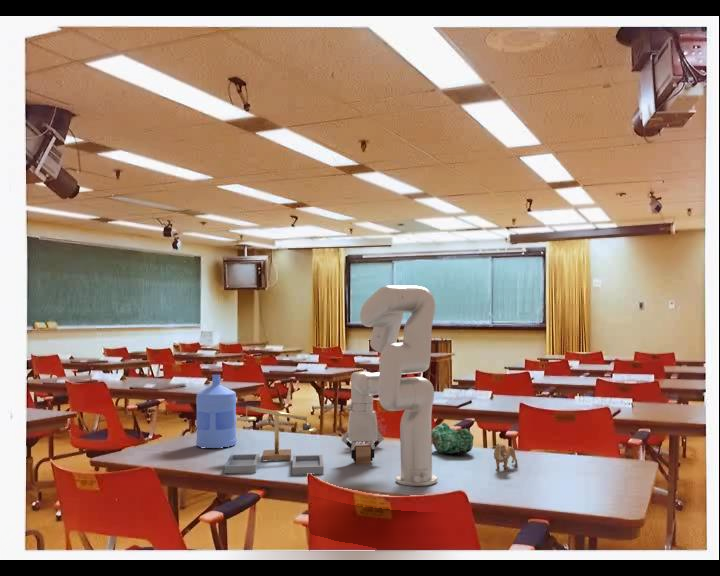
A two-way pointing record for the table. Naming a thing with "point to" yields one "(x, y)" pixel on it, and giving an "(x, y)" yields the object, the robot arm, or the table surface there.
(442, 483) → the table surface
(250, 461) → the dish high side
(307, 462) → the dish low side
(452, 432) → the mineral
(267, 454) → the balance
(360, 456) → the walnut block
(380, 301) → the robot arm
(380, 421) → the virus model
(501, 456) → the lion figurine
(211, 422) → the water jug
